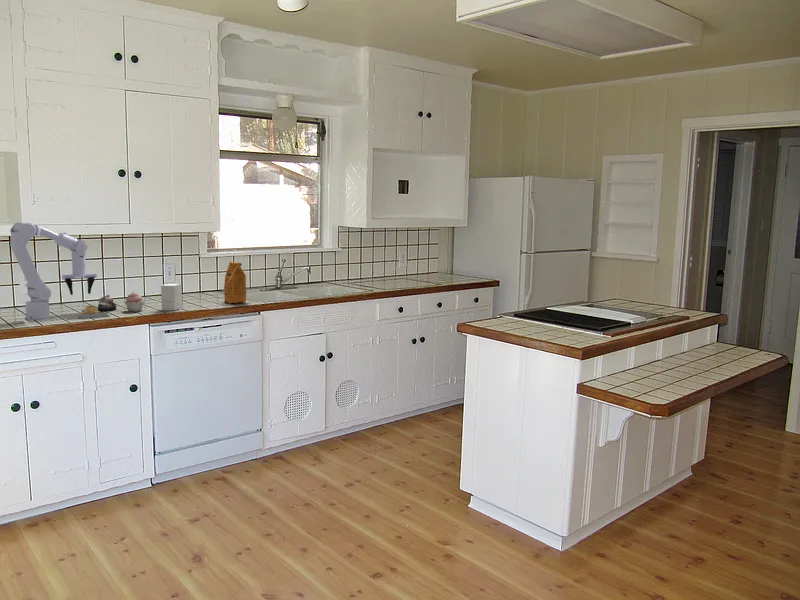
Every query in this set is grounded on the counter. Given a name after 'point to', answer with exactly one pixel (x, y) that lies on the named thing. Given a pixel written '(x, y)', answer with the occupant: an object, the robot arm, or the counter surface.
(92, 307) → the planet gear
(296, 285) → the counter surface
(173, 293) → the supplement box
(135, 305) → the cupcake
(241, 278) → the coffee package
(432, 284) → the counter surface
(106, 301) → the caster wheel
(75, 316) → the carrier
